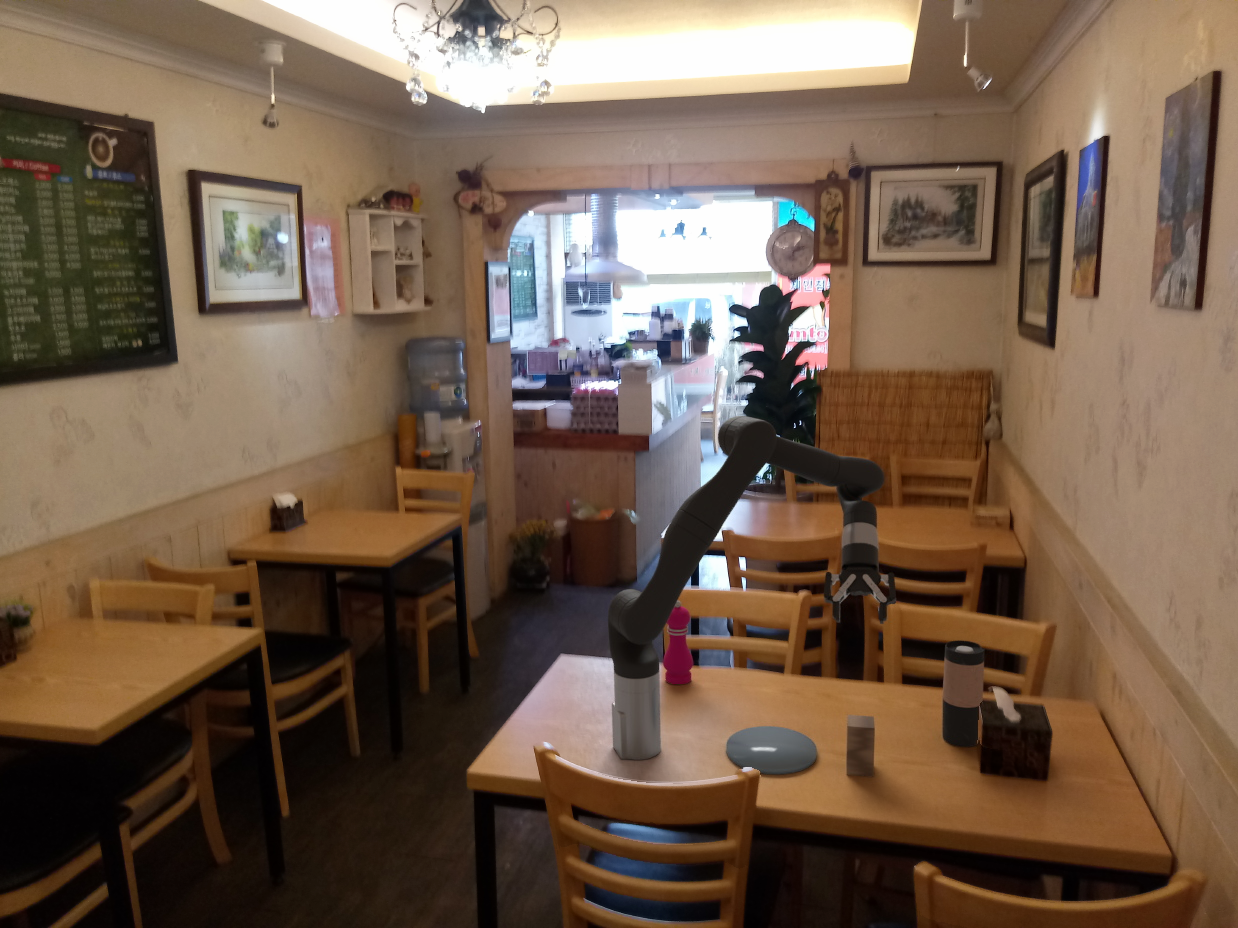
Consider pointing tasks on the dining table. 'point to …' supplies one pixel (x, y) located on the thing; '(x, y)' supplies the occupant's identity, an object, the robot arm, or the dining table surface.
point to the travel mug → (962, 692)
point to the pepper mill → (678, 647)
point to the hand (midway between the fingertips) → (859, 621)
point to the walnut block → (860, 745)
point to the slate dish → (771, 749)
